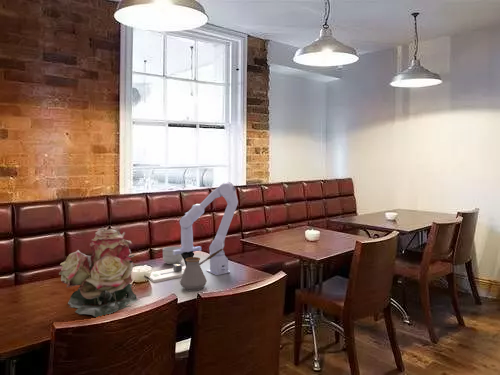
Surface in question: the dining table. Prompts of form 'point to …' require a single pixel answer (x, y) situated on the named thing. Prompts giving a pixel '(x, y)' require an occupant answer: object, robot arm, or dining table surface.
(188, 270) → the coffee pot
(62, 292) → the dining table surface
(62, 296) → the dining table surface
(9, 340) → the dining table surface
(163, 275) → the plate
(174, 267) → the breaker handle
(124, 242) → the rose bouquet
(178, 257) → the teacup
